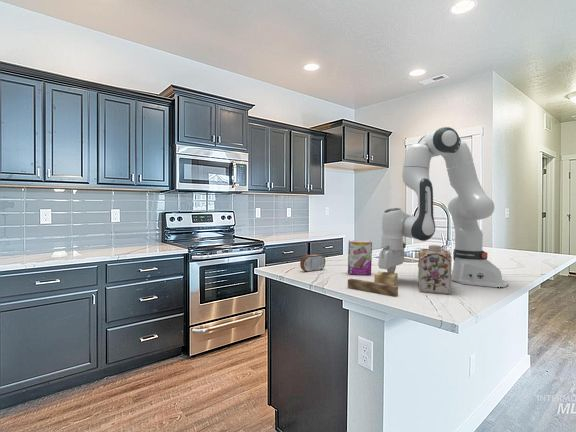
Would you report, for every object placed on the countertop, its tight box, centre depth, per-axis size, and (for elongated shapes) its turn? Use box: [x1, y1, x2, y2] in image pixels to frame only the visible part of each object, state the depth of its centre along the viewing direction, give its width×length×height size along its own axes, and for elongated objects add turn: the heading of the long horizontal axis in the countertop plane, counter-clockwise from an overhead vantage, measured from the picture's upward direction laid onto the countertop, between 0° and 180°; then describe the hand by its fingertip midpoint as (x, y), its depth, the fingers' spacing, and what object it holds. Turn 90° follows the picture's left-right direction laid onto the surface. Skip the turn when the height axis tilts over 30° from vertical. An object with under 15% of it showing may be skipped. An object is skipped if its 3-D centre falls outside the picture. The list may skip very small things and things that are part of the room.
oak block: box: [373, 271, 399, 286], centre depth 144 cm, size 8×8×5 cm
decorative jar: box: [417, 244, 453, 295], centre depth 137 cm, size 12×12×18 cm
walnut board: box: [347, 278, 399, 298], centre depth 133 cm, size 20×2×4 cm, turn 51°
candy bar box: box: [347, 240, 373, 276], centre depth 166 cm, size 11×5×16 cm, turn 84°
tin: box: [299, 253, 326, 273], centre depth 174 cm, size 15×3×8 cm, turn 124°
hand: (391, 276), depth 149 cm, fingers closed
